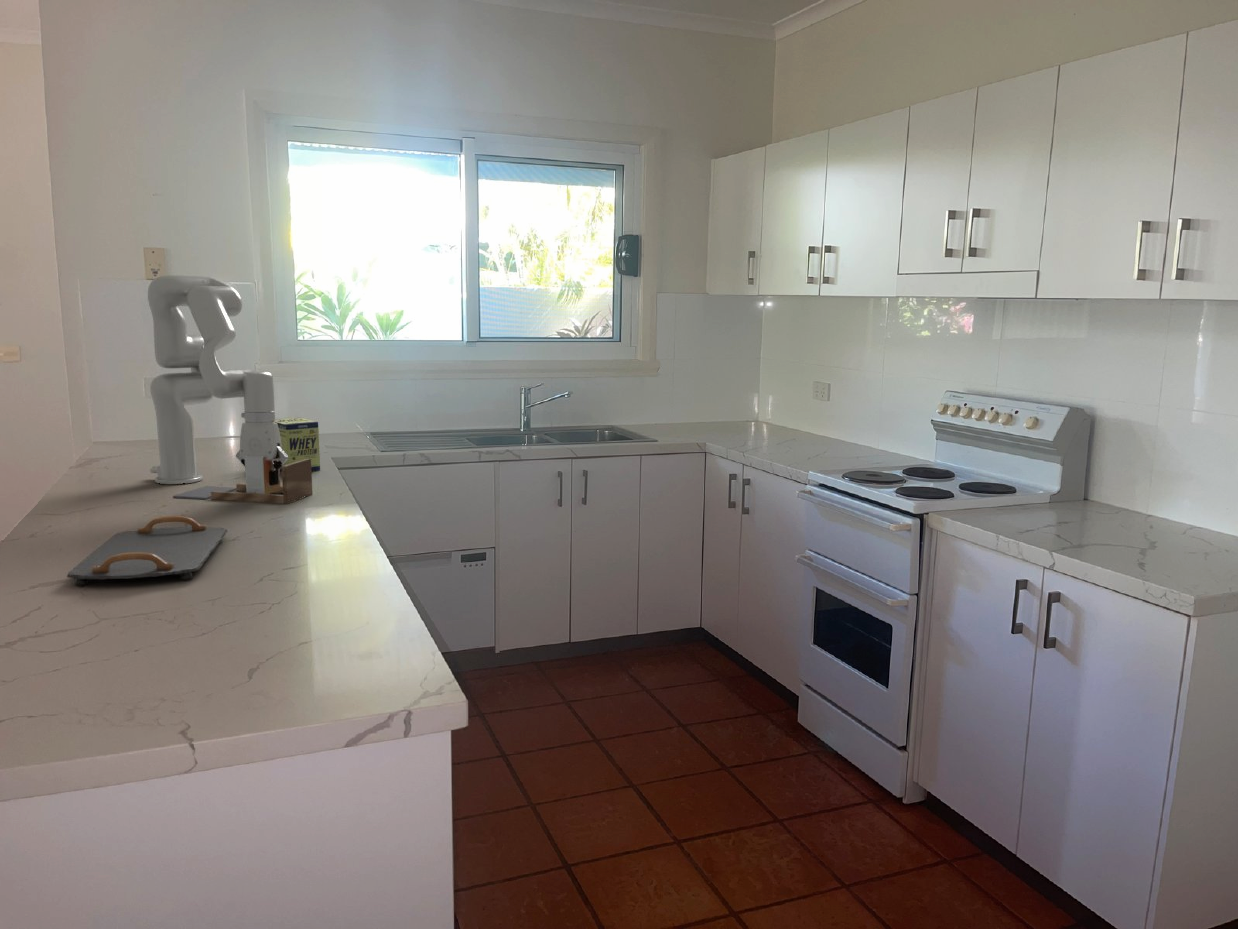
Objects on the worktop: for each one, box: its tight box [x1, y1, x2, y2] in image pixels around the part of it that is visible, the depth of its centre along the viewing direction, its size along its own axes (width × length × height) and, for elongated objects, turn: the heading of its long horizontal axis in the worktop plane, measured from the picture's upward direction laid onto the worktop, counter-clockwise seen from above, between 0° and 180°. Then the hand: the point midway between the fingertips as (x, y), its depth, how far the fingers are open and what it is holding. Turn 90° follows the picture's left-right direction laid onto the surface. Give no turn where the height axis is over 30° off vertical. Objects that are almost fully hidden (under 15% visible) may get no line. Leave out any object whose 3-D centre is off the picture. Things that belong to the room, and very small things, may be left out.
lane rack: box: [210, 459, 313, 504], centre depth 248 cm, size 23×12×10 cm, turn 78°
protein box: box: [275, 417, 321, 472], centre depth 290 cm, size 10×16×16 cm
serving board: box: [66, 515, 228, 588], centre depth 186 cm, size 39×23×6 cm, turn 13°
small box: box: [244, 456, 281, 494], centre depth 247 cm, size 8×6×10 cm
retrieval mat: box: [172, 485, 237, 501], centre depth 252 cm, size 10×14×1 cm
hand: (263, 483), depth 248 cm, fingers closed on small box, 5 cm apart
